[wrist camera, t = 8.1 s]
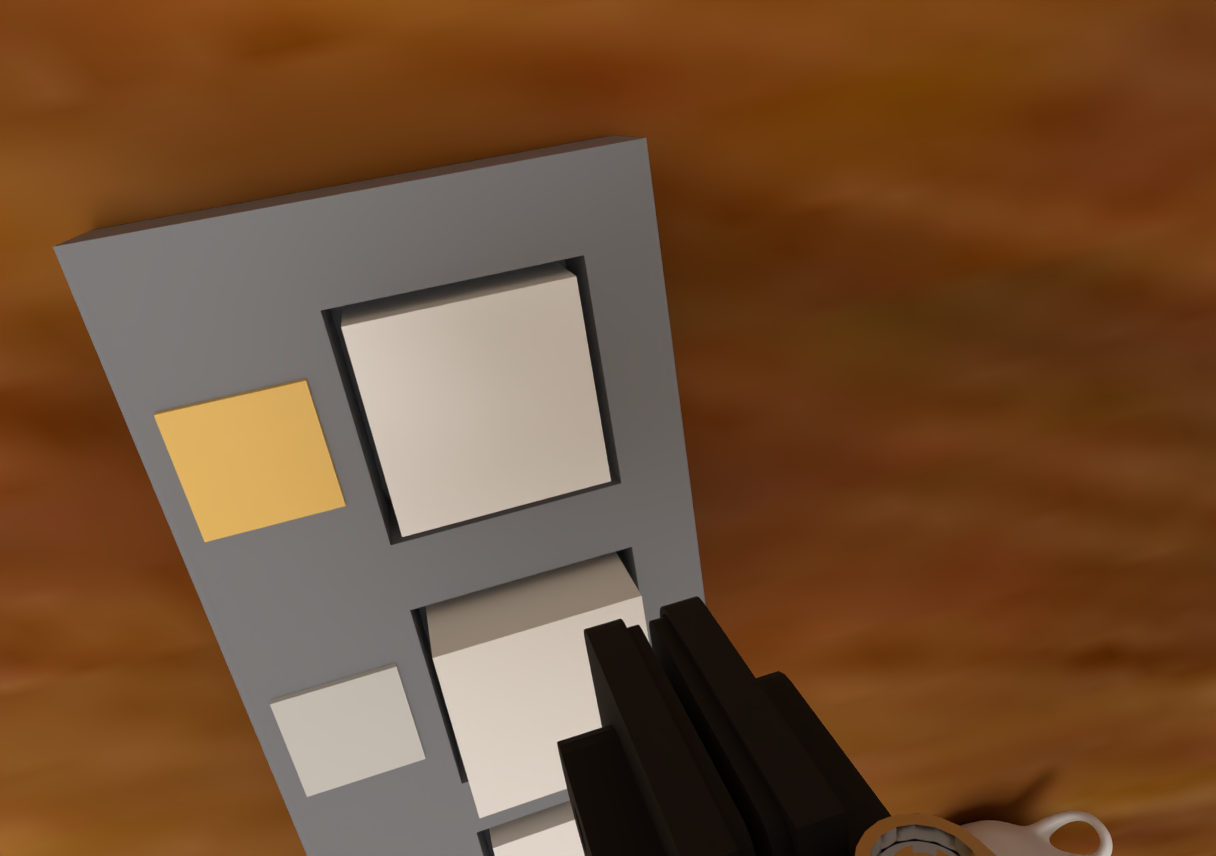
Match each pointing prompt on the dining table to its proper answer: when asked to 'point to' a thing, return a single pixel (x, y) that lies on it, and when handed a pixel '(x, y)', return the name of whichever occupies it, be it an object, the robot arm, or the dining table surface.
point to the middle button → (525, 673)
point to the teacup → (1035, 835)
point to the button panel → (349, 463)
